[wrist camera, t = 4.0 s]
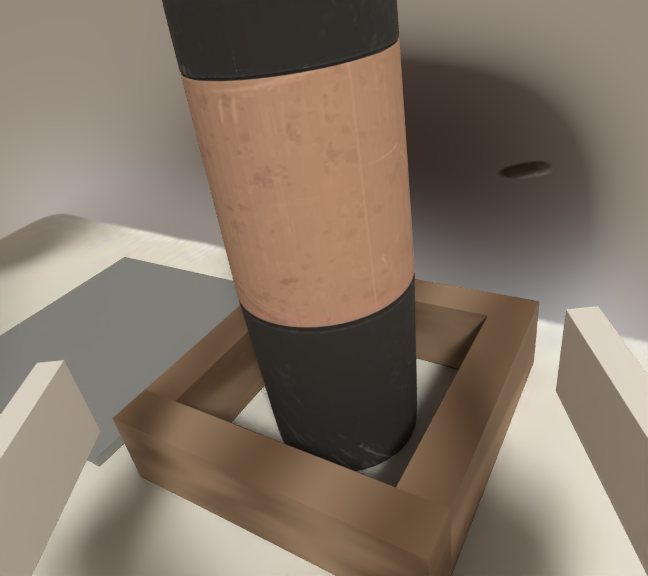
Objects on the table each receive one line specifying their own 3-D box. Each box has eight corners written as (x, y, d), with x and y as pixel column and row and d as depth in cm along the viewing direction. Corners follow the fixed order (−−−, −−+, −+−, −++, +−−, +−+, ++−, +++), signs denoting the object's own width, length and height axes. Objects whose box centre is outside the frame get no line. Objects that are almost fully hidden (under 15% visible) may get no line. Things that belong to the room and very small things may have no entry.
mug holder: (140, 475, 26) (112, 418, 24) (303, 308, 37) (293, 257, 35) (432, 624, 19) (428, 560, 17) (533, 361, 29) (539, 301, 27)
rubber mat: (-60, 383, 35) (-64, 376, 35) (126, 263, 46) (124, 256, 46) (99, 466, 27) (95, 458, 27) (278, 297, 38) (276, 290, 38)
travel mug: (268, 383, 31) (166, -14, 20) (398, 354, 31) (365, -47, 21) (281, 495, 24) (141, -2, 14) (445, 457, 25) (432, -51, 14)
